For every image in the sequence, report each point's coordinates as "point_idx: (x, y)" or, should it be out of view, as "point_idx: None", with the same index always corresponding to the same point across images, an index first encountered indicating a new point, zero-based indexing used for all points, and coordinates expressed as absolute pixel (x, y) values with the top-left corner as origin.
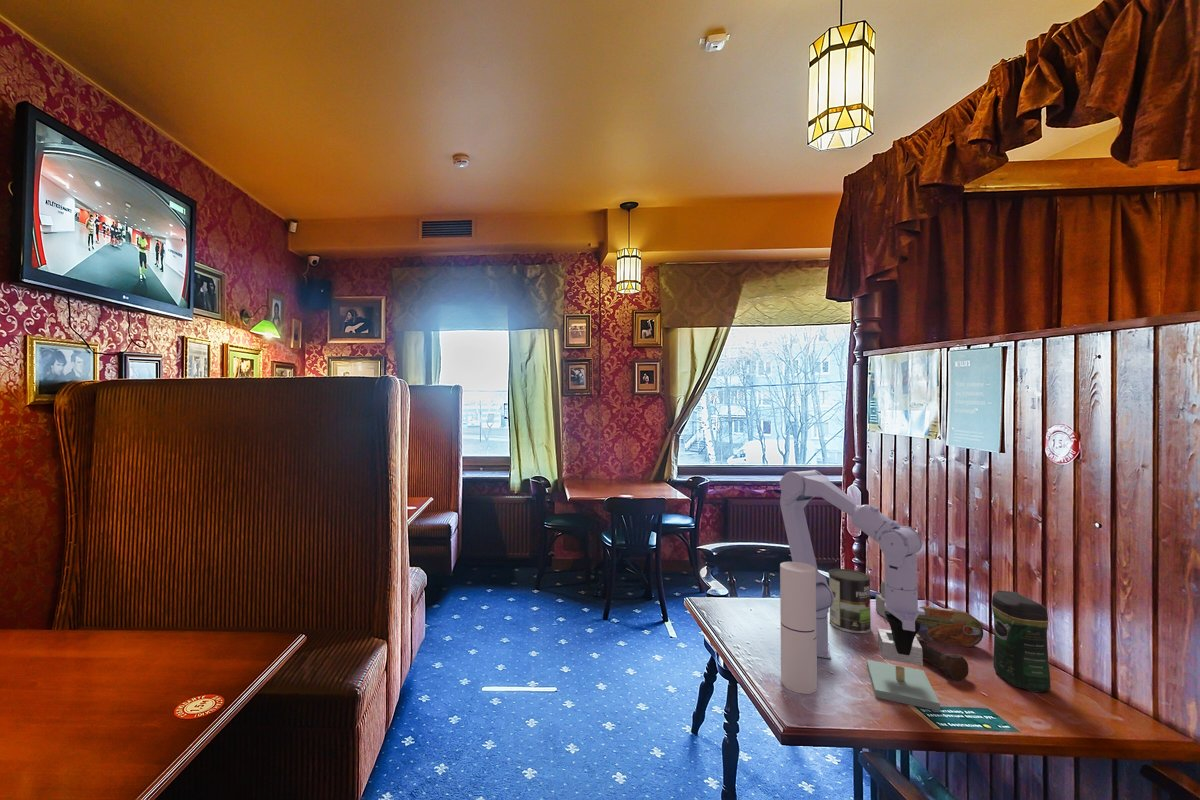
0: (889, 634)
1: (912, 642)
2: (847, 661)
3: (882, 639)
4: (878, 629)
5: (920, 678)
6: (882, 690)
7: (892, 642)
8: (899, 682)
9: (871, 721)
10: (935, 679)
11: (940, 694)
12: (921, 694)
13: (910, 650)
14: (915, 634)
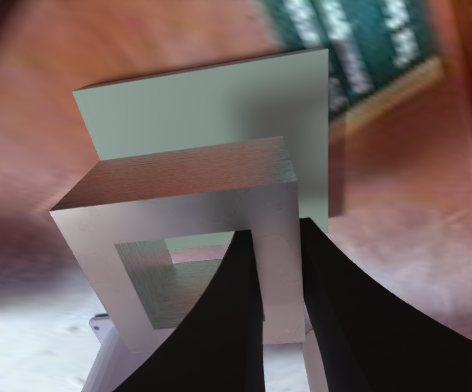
0: (151, 309)
1: (355, 264)
2: None
3: (273, 341)
4: (142, 351)
5: (156, 106)
6: (323, 216)
7: (291, 311)
8: None
9: (453, 225)
10: (65, 42)
11: (184, 33)
12: (289, 110)
13: (322, 231)
14: (429, 318)
